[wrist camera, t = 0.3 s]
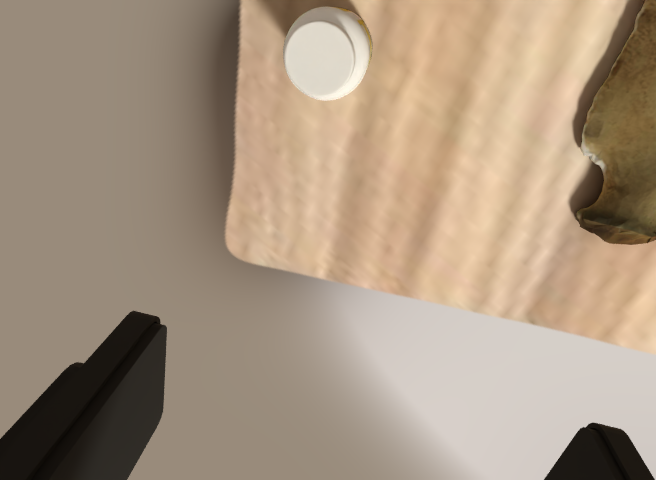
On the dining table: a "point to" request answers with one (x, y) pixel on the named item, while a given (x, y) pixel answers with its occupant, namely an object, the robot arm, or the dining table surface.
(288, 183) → the dining table surface
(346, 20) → the supplement bottle
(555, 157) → the dining table surface
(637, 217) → the stone tool
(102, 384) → the robot arm
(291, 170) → the dining table surface
